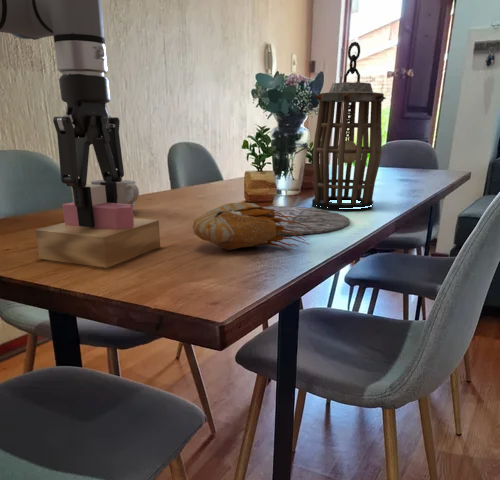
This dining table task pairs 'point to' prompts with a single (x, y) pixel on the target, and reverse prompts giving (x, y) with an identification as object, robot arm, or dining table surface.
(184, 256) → the dining table surface
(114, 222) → the pink-and-white stacked brick
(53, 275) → the dining table surface
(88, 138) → the robot arm
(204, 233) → the nautilus
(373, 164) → the lantern
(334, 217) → the grey-brown round placemat
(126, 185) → the teacup
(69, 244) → the block
